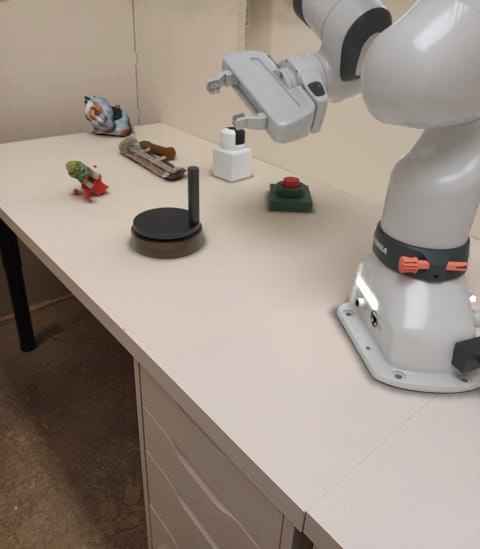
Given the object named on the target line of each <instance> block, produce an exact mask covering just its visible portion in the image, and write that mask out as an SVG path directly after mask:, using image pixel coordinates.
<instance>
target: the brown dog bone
mask: <svg viewBox="0 0 480 549" xmlns="http://www.w3.org/2000/svg"><path fill="white" fill-rule="evenodd" d="M138 142H139V144H140V146H141V148H142V149H144V150H145V149H147V148H150V150H151V152H152V153H153V154H157V155H160V156H165V157H166V159H167V160H168V161H172V160H174V159H175V158H176V156H177V151H176V148H174V147H173V146H168V147H167V146H166V147H165V146H162V145H159V144H155V143H153V142H151V141H149V140H145V139H144V140H140V141H138Z"/></svg>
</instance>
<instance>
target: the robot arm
mask: <svg viewBox="0 0 480 549" xmlns="http://www.w3.org/2000/svg"><path fill="white" fill-rule="evenodd" d="M292 8H293V11H294V14H295V15H296V17H297V18H298V19H299V20H301V22H303V24H305V26H307V27H308V29H310V30H311V31H312V32H313V33H314V34H315V36H316V37H317V38H318V39H319V41H320V42H321V44H320V48H319V50H317V51H315V52H307V53H302V54H298V55H294V56H289V57H286V58H282V59H280V61H278V62H277V61H275V59H274V57H273V56H272V55H270V54H266V53H265V52H264V51H262V50H258V49H257V50H256V49H251V50H243V51H242V50H241V51H233V52H228V53H226V54H225V55H224V56H223V57H222V60H221V72H220V73H219V74H218V75H217V76H216V77H215V78H209V79H208V80H206V82H205V89H206V90H207V92H208V93H209V94H210V95H214V94H220V93H221V88H223V87H226V88H228V87H231V88H232V89H233V91H234V92H235V94H236V95H237V96H238V97H239V99H240V100H241V101H242V103H243V104H244V105H245V106H246V108H247V109H248V110H249V112H251V114H252V115H246V114H245V113H244V112H240V113H238V114H234V115H233V116H232V118H231V120H232V122H231V124H232V125H233V127H235V128H236V130H241V129H243V130H245V129H248V130H253V131H262V130H264V131H265V132H266V133H267V135H269V137H270V138H271V139H272V141H273V142H274V143H277V144H282V145H284V144H285V145H286V144H289V143H292V142H296V141H299V140H301V139H304V138H306V137H308V136H309V135H310V134H319V133H320V132H321V130H322V128H323V124H324V122H325V118H326V115H327V110H328V104H340V103H343V102H347V101H349V100H353V99H356V98H358V97H362V100H363V103H364V105H365V107H366V109H367V111H368V112H369V114H370V115H371V116H372V117H373V118H374V119H375V120H377V121H378V122H379V123H382V124H385V125H390V126H395V127H398V128H399V127H401V128H406V129H413V130H422V132H421V134H420V135H419V137H418V139H416V141H415V143H414V144H413V145H412V146H411V147H410V149H408V150H407V151H406V152H405V153H404V154H403V155H402V156H401V157H399V159H397V161H396V163H395V164H394V166H393V167H392V169H391V171H390V173H389V174H390V175H389V180H388V184H387V189H386V194H385V198H384V204H383V209H382V213H381V217H380V218H381V219H380V220H378V221H377V223H376V228H375V229H374V233H373V237H372V238H373V241H372V245H371V247H372V250H371V252H370V253H369V254H368V256H366V257H365V258H364V259H363V260H362V261H360V263H358V264H357V268H356V272H355V276H354V280H353V282H352V283H353V284H352V288H351V292H350V296H349V300H348V301H346V302H344V303H341V304H340V305H339V306H338V307H337V309H336V316H337V317H338V319H339V321H340V323H341V325H342V326H343V328H344V329H345V331H346V333H347V335H348V336H349V338H350V340H351V342H352V343H353V345H354V347H355V349H356V351H357V352H358V354H359V356H360V357H361V358H360V359H361V360H362V361H363V363H364V365H365V366H366V368H367V370H368V371H369V373H370V375H371V376H372V377H373V378H374V379H375V380H376V381H379V382H381V383H383V384H386V385H389V386H392V387H396V388H398V389H399V388H400V389H403V390H410V391H414V392H415V391H416V392H423V393H424V392H426V393H442V394H443V393H444V394H445V393H447V394H448V393H462V392H468V391H474V390H476V389H479V388H480V336H476V329H479V328H480V309H473V307H472V302H473V303H474V302H476V298H477V296H474V295H473V293H474V289H473V287H470V286H468V282H467V277H466V272H467V271H468V266H469V265H470V263H469V259H470V255H471V250H470V249H471V248H470V247H471V238H470V236H469V235H470V233H471V230H472V227H473V224H474V221H475V217H476V214H477V212H478V209H479V205H480V0H416V2H415V3H414V4H413V5H412V6H411V7H410V8H409V9H408V10H407V11H406V12H405V13H404V14H403V15H402V16H401V17H400V18H398V19H397V21H395V22H394V23H393V15H392V14H391V12H390V11H389V9H388V8H387V7H386V6H385V5H384V4H383V3H382V2H381V0H292Z"/></svg>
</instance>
